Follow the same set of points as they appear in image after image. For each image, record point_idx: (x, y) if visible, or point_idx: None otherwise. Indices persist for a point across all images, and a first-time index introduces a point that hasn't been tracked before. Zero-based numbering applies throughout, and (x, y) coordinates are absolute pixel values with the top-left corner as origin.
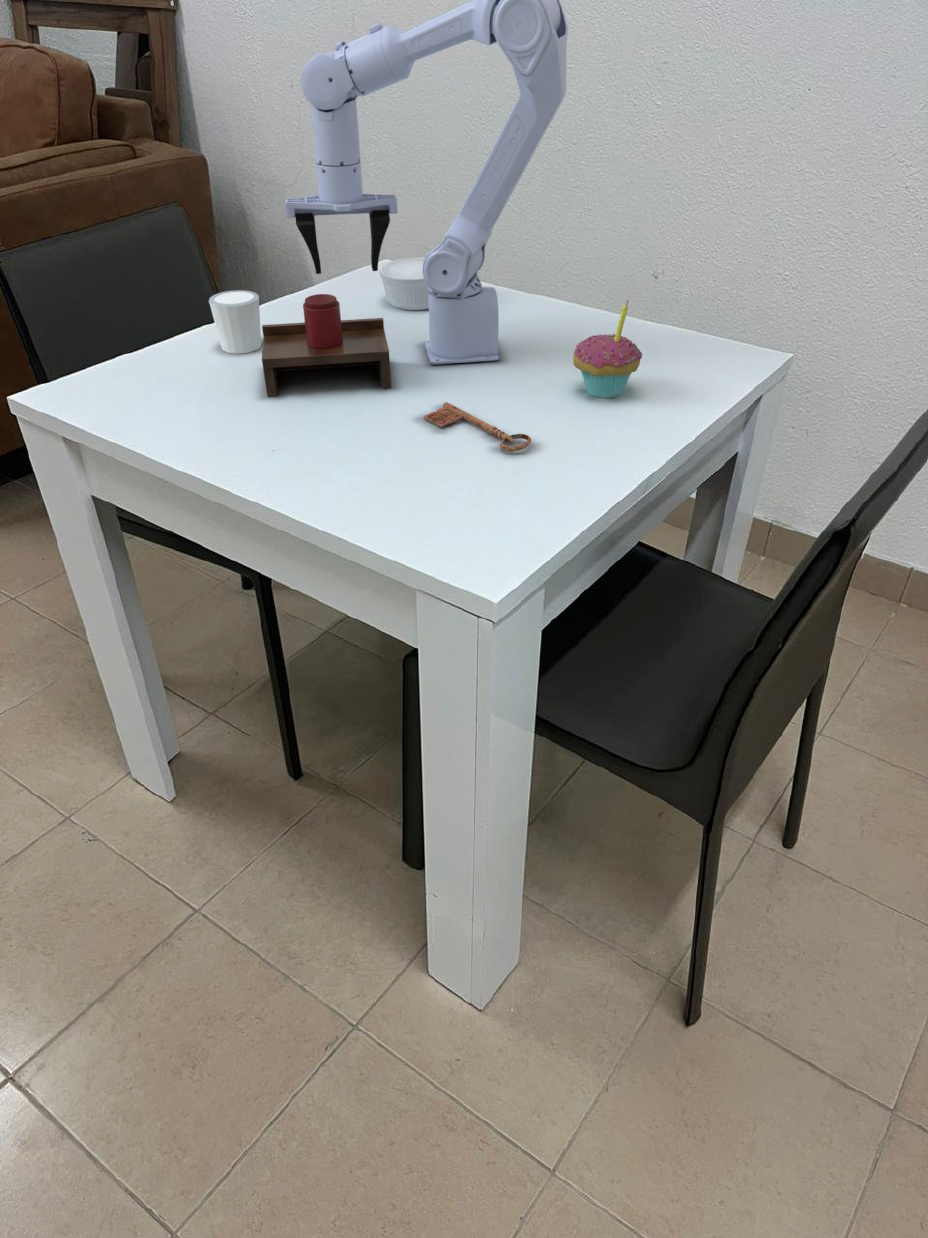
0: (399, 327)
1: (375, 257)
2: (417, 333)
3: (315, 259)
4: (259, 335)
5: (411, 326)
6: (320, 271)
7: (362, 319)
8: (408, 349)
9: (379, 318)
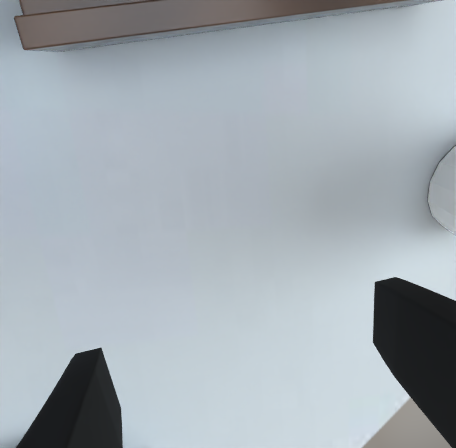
0: (73, 333)
1: (62, 401)
2: (5, 297)
3: (452, 305)
4: (451, 187)
5: (37, 344)
6: (384, 284)
7: (128, 25)
8: (3, 169)
9: (40, 37)
